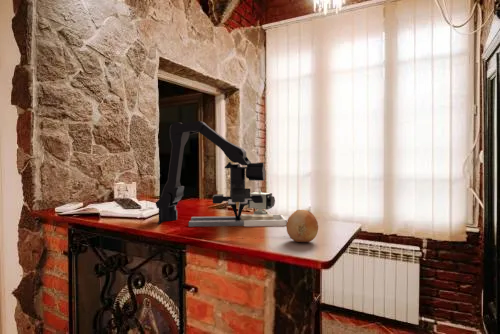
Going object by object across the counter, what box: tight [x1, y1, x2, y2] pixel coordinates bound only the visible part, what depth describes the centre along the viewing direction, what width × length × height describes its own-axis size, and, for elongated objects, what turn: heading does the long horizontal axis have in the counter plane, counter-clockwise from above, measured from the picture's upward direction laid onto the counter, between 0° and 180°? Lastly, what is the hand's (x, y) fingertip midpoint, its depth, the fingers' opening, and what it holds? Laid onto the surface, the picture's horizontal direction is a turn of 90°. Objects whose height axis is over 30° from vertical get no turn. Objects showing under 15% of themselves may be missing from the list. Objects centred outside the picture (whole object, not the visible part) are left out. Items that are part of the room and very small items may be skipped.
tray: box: [244, 213, 288, 227], centre depth 119 cm, size 16×12×3 cm
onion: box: [285, 209, 319, 243], centre depth 95 cm, size 10×10×10 cm
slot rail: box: [188, 215, 245, 228], centre depth 117 cm, size 20×10×3 cm, turn 94°
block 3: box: [262, 215, 273, 220], centre depth 119 cm, size 4×4×3 cm
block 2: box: [251, 214, 263, 220], centre depth 119 cm, size 4×4×3 cm
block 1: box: [241, 213, 253, 220], centre depth 118 cm, size 4×4×3 cm
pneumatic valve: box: [247, 190, 276, 215], centre depth 131 cm, size 6×12×12 cm, turn 63°
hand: (237, 221), depth 118 cm, fingers closed
